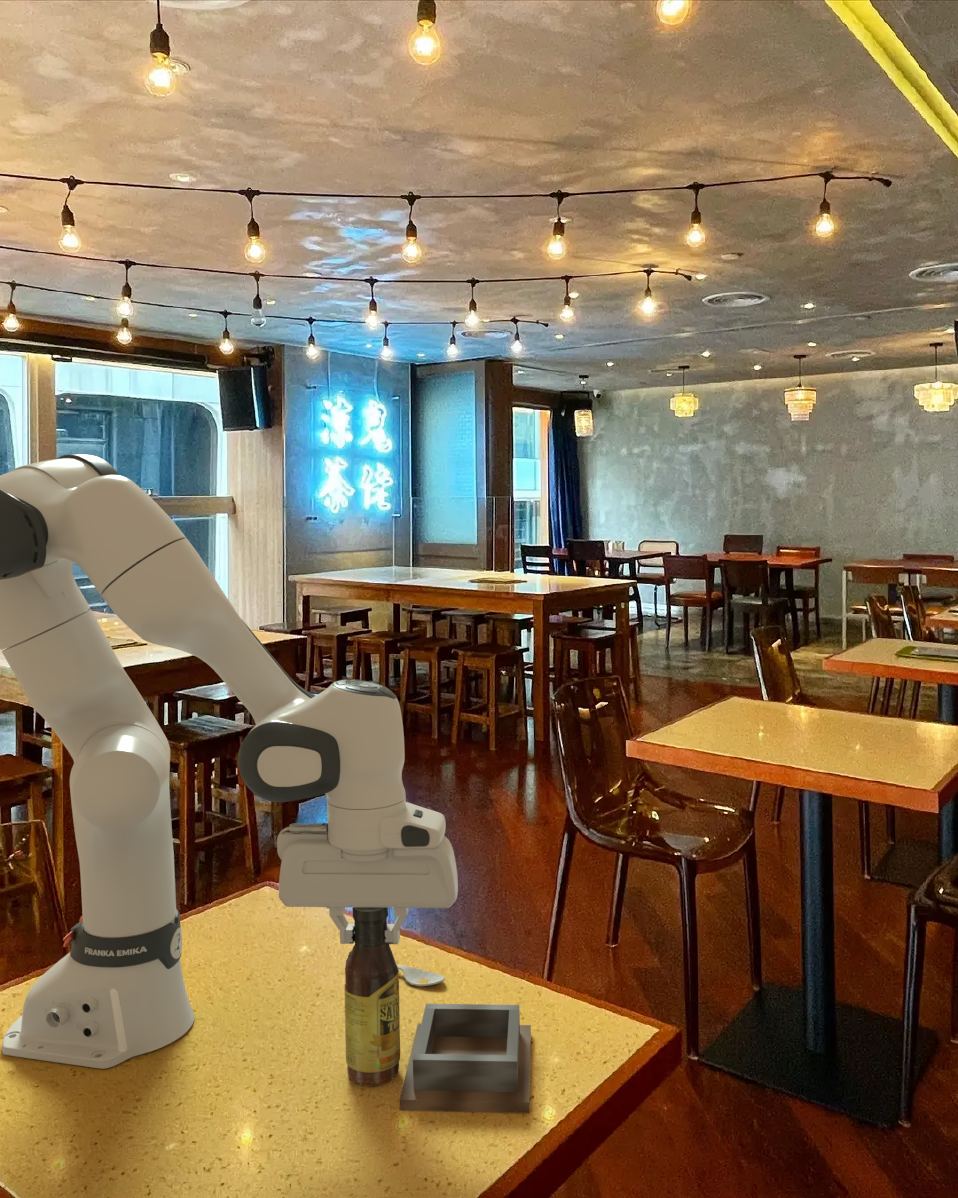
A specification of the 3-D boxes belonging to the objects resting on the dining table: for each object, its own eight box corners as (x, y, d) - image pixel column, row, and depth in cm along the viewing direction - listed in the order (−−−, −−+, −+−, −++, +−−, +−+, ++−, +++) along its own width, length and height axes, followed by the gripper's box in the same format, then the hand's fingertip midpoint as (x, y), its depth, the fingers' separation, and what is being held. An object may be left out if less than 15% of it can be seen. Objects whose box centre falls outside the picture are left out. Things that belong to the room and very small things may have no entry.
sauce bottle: (391, 1092, 109) (387, 919, 107) (338, 1086, 110) (333, 915, 108) (407, 1060, 115) (403, 896, 113) (357, 1055, 116) (352, 893, 115)
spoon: (435, 997, 131) (434, 985, 131) (320, 961, 143) (320, 950, 142) (452, 984, 135) (452, 973, 134) (339, 950, 146) (339, 939, 146)
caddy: (399, 1110, 105) (398, 1068, 105) (418, 1032, 121) (417, 996, 121) (529, 1113, 104) (528, 1071, 104) (530, 1034, 120) (530, 998, 120)
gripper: (268, 832, 108) (273, 953, 109) (453, 832, 106) (455, 955, 107) (283, 815, 114) (287, 929, 115) (458, 815, 113) (460, 931, 114)
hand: (370, 942), depth 111 cm, fingers closed on sauce bottle, 4 cm apart
